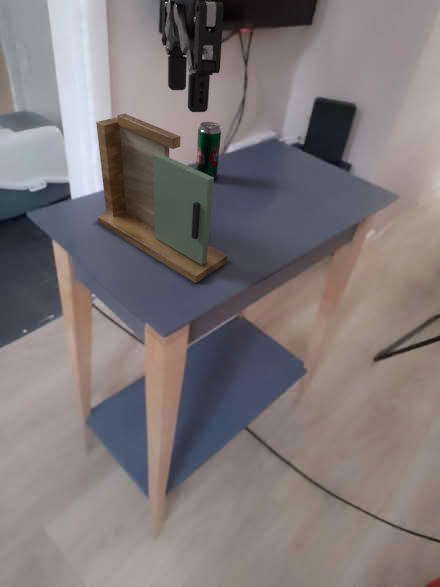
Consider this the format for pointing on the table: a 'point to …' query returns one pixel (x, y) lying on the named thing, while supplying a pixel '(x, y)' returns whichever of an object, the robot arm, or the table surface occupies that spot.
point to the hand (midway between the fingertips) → (186, 99)
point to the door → (182, 207)
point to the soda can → (208, 148)
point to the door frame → (141, 190)
